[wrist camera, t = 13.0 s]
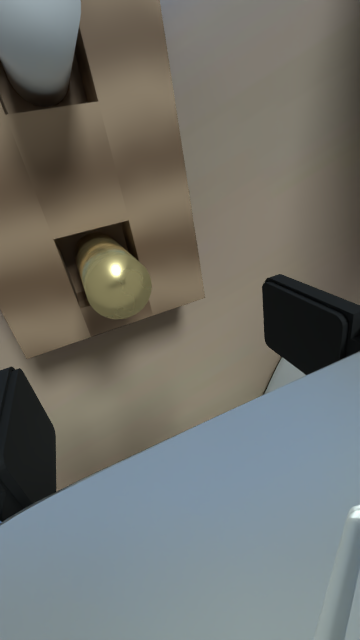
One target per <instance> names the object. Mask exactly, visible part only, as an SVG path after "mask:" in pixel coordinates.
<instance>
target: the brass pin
mask: <svg viewBox="0 0 360 640" xmlns="http://www.w3.org/2000/svg"><path fill="white" fill-rule="evenodd" d="M74 257H75V261H76V264H77V267H78V271H79V274H80V277H81V280H82V283H83V287H84V290H85V293H86V296H87V299H88V301H89V303H90V305H91V307H92V308H93V309H94V310H95V311H96V312H97V313H99V314H100V315H102V316H104V317H107V318H111V319H125V318H128V317H131V316H133V315H135V314H137V313H138V312H139V311H141V310H142V309H143V308H144V306H145V305H146V304H147V302H148V300H149V298H150V295H151V290H152V283H151V278H150V275H149V273H148V271H147V269H146V268H145V267H144V266H143V265H142V264H141V263H140V262H139V261H138V260H137V259H135V258H134V257H133V256H132V255H131V254H130V253H129V252H127V251H126V250H125V249H124V248H123V247H122V246H121V245H120V244H118V243H117V242H116V241H115V240H114V239H113V238H112V237H110V236H109V235H107V234H104V233H100V232H93V233H89V234H87V235H85V236H83V237H82V238H81V239H80V240H79V241H78V243H77V244H76V247H75V251H74Z"/></svg>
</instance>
